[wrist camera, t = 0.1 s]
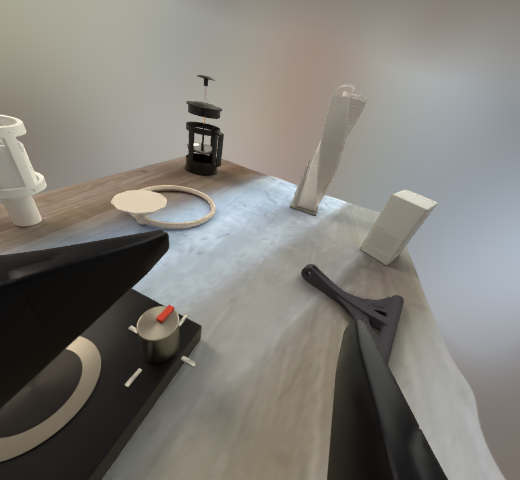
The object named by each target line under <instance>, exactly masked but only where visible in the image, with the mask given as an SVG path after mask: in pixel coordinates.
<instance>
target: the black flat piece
mask: <svg viewBox="0 0 520 480" xmlns="http://www.w3.org/2000/svg"><path fill="white" fill-rule="evenodd" d="M309 272H310V273H311V274H310V273H309ZM301 274H302V277H303V278H304V279H305V280H306V281H308V282H309V283H310V284H312V285H313V286H315V287H316V288H318V289H319V290H321V291H322V292H324V293H325V294H327V295H328V296H330V297H331V298H332V299H334V300H335V301H337V302H338V303H340V304H341V305H343V306H344V307H345V308H346V309H347V310H348V311H349V313H350V314H351V315H352V317H353V318H357V319H359V320H362V321H364V322H365V323H366V324H367V326H368V328H369V330H370V332H371V334H372V336H373V338H374V340H375V341H376V343H377V345H378V347H379V349H380V351H381V353H382V355H383V357H384V359H385V361H386V363H387V364H388V361H389V357H390V353H391V349H392V345H393V341H394V337H395V333H396V329H397V326H398V322H399V318H400V314H401V310H402V306H403V302H404V300H403V298H402V297H401V296H398V295H395V296H393V297H392V298H391V297H388V298H385V299H381V300H369V299H362V298H359V297H356V296H353V295H351V294H349V293H346V292H344V291H343V290H342V289H341V288H339V287H338V286H337V285H335V284H334V283H333V282H332V281H331V280H330V279H329V278H328V277H327V276H326V275H324V274H323V273H322V272H321V271H320V270H319V269H318V267H317V266H315V265H313V264H309V265H307V266H306V267H305V268H303V269H302V272H301ZM376 311H379V312H381V313H384V314H386V317H385V316H383V315H381V314H379V313H378V312H376ZM370 324H371V325H372V326H374V327H375V328H377V329H378V330H380V331H381V332H380V335H378V334H377V333H376V332H375V331H374V330H373V329H372V327H371V325H370Z"/></svg>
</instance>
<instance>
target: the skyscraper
mask: <svg viewBox="0 0 520 480" xmlns="http://www.w3.org/2000/svg"><path fill="white" fill-rule="evenodd" d="M345 86H347V87H351V88H352V89H353V90H352V92H351V93H350V92H345V91H344V92H343V95H342V96H339V95H335V94H334V93H335V92H336V91H337V90H338V89H339V88H340V87H345ZM354 90H355V87H354V86H353V85H351V84H342V85H340V86H338V87H337V88H336V89H335V90H334V92H333V93H332V95H331V99H330V103H329V107H328V111H327V115H326V119H325V123H324V128H323V133H322V138H321V141H320V143H319V145H318V147H317V149H316V152H315V154H314V157H313V159H312V162H311V164H310V167H309V166H308V165H309V162H310V159H309V161H308V164H307V166H306V167H305V170H304V173H303V176H301V178H300V181H299V184H298V187H297V190H296V192H295V195H294V198H293V201H292V204H291V206H290V208H293V209H296V210H299V211H302V212H305V213H308V214H311V215H314V216H316V213H317V209H318V205H319V204H320V202H321V200H322V198H323V196H324V195H325V193H326V191H327V189H328V187H329V185H330V183H331V181H332V179H333V177H334V175H335V172H336V170H337V167H338V165H339V162H340V159H341V156H342V152H343V148H344V144H345V140H346V138H347V137H348V135H349V133H350V132H351V130H352V128H353V126H354V125H355V123H356V121H357V119H358V118H359V116H360V114H361V112H362V110H363V108H364V107H365V105H366V103H367V98H366V97H365V96H362V95H358V94H354V93H353V91H354ZM356 97H358V98H362V99H364V100H365V102H363V101H360V100H357V99H356ZM308 168H309V170H308ZM307 171H308V173H307ZM306 173H307V176H306ZM305 176H306V177H305ZM301 192H302V193H301Z"/></svg>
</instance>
